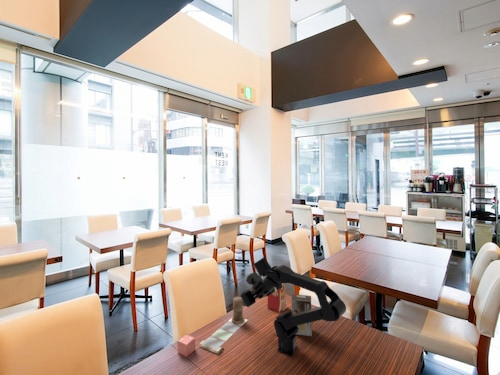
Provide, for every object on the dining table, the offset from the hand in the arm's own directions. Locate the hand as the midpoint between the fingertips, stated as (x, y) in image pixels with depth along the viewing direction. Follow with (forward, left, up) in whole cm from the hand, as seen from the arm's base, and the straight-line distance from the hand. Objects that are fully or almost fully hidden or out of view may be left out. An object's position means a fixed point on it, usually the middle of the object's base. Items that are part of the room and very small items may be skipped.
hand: (249, 301), depth 121 cm
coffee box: (-22, -11, -14) cm, 28 cm away
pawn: (+7, -1, -12) cm, 14 cm away
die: (+15, +26, -13) cm, 33 cm away
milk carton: (-3, -24, -14) cm, 28 cm away
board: (+7, +8, -13) cm, 17 cm away
